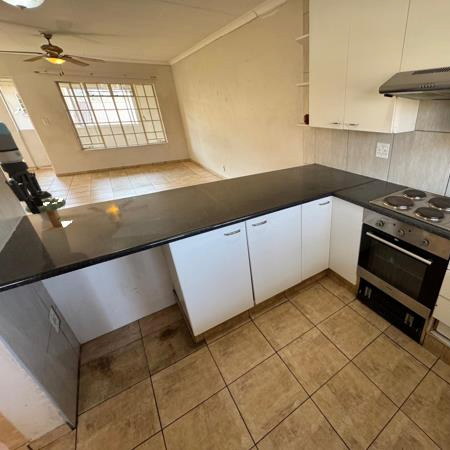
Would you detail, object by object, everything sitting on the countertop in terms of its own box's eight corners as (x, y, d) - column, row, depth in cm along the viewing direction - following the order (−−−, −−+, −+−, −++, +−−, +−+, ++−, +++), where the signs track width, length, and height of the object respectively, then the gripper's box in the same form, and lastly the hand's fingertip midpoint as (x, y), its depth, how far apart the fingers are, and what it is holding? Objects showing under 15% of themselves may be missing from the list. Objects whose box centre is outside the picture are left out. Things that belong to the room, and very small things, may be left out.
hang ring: (19, 215, 111) (15, 209, 110) (41, 204, 124) (38, 198, 122) (55, 212, 114) (52, 206, 112) (73, 201, 126) (70, 196, 125)
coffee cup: (39, 223, 128) (24, 197, 121) (40, 218, 135) (26, 192, 128) (62, 218, 133) (48, 192, 126) (62, 213, 140) (50, 188, 133)
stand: (41, 233, 119) (27, 208, 113) (53, 225, 127) (41, 200, 121) (63, 231, 121) (50, 206, 115) (73, 223, 129) (62, 199, 122)
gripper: (6, 165, 97) (36, 218, 108) (36, 156, 111) (60, 204, 122) (-17, 166, 95) (16, 220, 106) (16, 157, 109) (42, 206, 120)
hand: (39, 212), depth 114 cm, fingers closed on hang ring, 3 cm apart
